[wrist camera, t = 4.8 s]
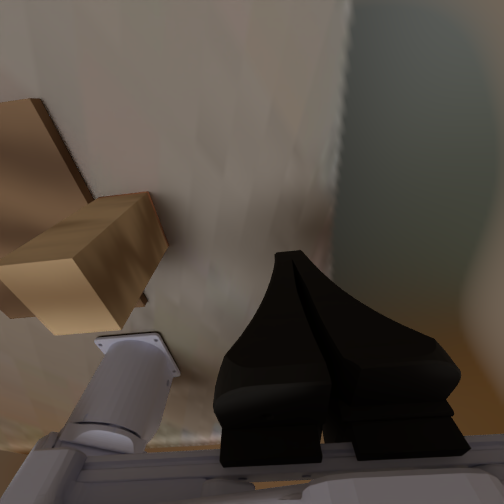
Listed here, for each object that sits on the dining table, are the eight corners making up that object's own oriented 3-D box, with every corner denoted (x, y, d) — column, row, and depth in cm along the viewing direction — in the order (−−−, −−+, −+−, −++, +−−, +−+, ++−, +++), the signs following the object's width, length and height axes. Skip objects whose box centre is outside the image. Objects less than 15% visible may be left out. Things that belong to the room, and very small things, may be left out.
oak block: (168, 245, 20) (121, 329, 13) (126, 250, 20) (54, 335, 13) (148, 191, 17) (71, 258, 10) (99, 197, 18) (-13, 267, 10)
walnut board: (147, 300, 24) (144, 306, 23) (16, 312, 25) (10, 318, 24) (39, 98, 14) (29, 98, 13) (-173, 130, 15) (-193, 131, 14)
